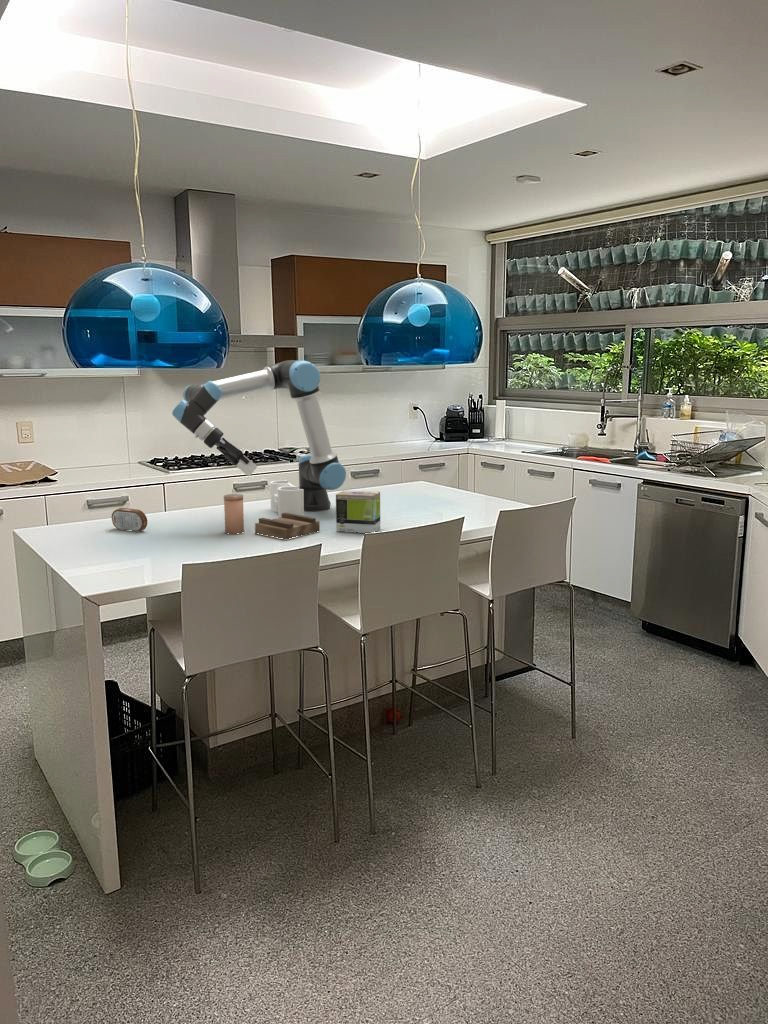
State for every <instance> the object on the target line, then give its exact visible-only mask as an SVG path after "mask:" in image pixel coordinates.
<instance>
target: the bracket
mask: <svg viewBox="0 0 768 1024" xmlns="http://www.w3.org/2000/svg"><path fill="white" fill-rule="evenodd" d="M269 484H270V485H269V487H270V489H269V491H270V511H271V512H276V513H277V516H278V517H277V518H281V517H282V513H290V514H295V515H301V516H305V511H304V489H299V485H294V484H293V483H292V482H289V480H272V481H270V483H269Z"/></svg>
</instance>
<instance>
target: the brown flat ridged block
mask: <svg viewBox="0 0 768 1024" xmlns="http://www.w3.org/2000/svg"><path fill="white" fill-rule="evenodd" d="M320 525H321V524H320V521H319V520H317V518H316V517H310V516H305V515H304V516H301V515H295V514H290V513H282V517H281V518H278V517H277V518H273V519H270V518H266V517H261V518H258V522H255V523H254V533H259V534H263V535H268V536H274V537H278V538H283V539H289V538H292V537H296V536H301V535H305V534H308V535H310V534H309V533H312V534H315V533H314V532H316V533H318V532H317V531H320V529H321V528H320ZM263 535H262V536H263ZM305 536H306V535H305ZM301 537H302V536H301Z"/></svg>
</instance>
